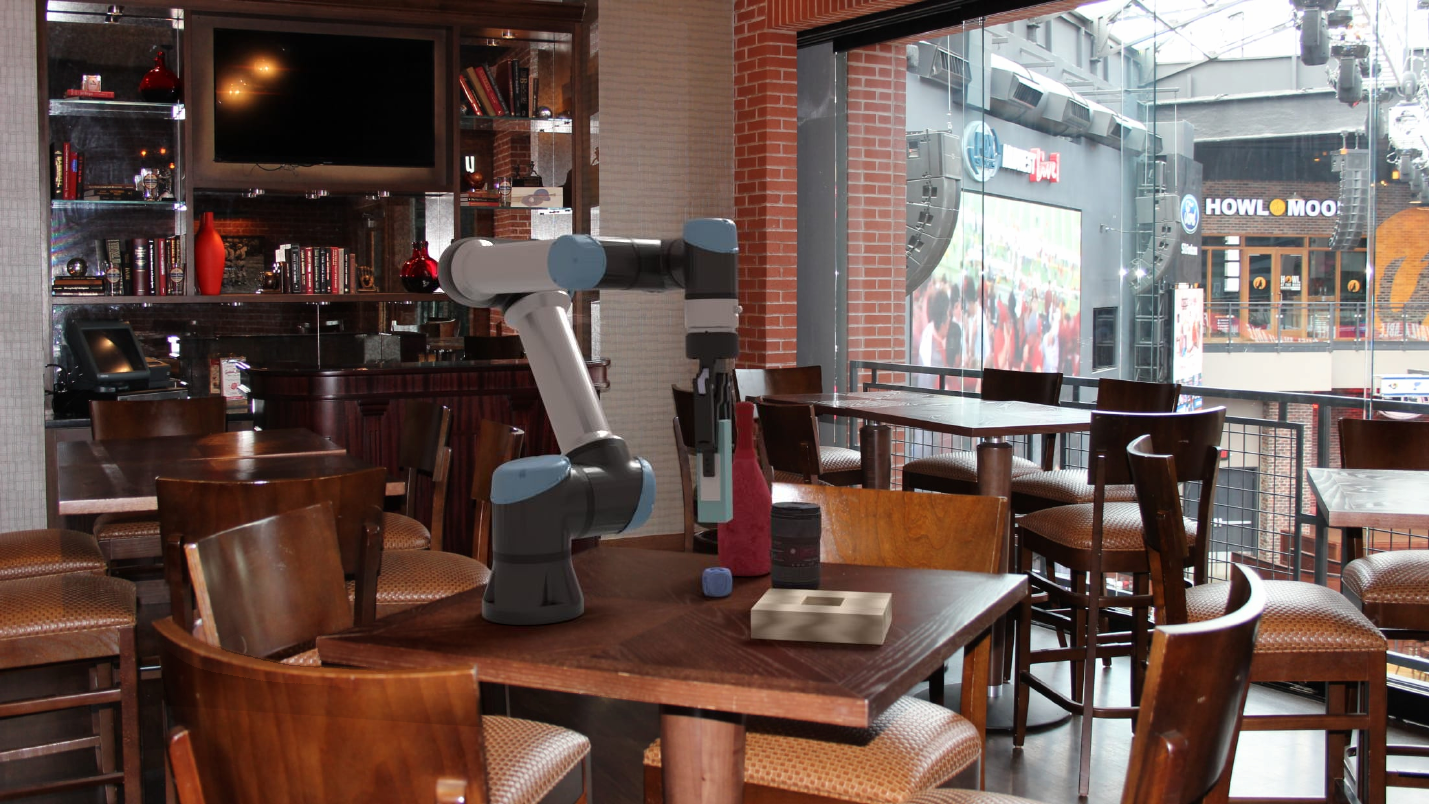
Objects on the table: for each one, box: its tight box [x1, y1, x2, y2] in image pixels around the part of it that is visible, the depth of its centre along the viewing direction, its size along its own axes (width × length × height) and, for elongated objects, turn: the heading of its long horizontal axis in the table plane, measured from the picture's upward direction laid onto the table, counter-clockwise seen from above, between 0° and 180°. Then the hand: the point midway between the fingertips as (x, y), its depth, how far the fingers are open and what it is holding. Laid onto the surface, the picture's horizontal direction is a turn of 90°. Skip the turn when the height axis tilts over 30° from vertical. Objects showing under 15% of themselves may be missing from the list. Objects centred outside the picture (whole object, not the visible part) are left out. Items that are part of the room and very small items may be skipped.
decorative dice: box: [701, 567, 733, 598], centre depth 197 cm, size 4×4×4 cm
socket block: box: [750, 588, 893, 645], centre depth 173 cm, size 18×14×4 cm
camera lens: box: [769, 501, 823, 590], centre depth 193 cm, size 8×8×15 cm
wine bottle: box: [717, 400, 774, 577], centre depth 214 cm, size 10×10×30 cm
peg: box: [696, 420, 733, 524], centre depth 172 cm, size 4×4×14 cm
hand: (715, 497), depth 172 cm, fingers closed on peg, 4 cm apart
